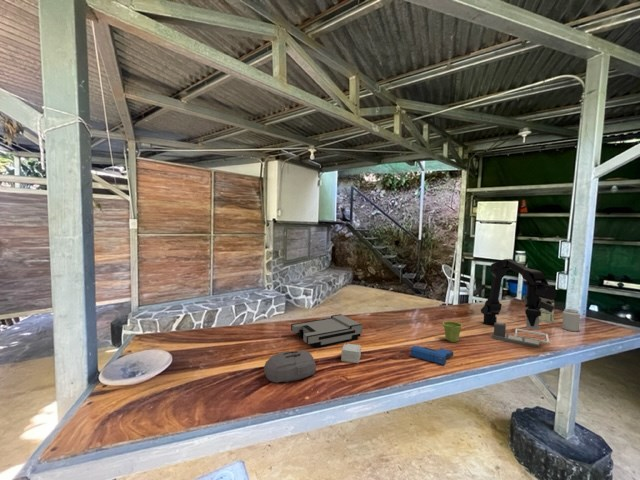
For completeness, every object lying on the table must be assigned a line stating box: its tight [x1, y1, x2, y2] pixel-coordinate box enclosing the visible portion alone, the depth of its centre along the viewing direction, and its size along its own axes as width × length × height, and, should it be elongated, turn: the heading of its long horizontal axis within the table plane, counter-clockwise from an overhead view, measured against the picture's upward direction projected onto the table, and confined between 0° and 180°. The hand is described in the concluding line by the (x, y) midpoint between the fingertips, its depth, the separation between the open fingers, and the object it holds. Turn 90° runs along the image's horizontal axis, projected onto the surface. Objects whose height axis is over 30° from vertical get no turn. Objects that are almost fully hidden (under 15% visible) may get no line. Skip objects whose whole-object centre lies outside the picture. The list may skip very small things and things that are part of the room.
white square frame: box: [514, 328, 550, 345], centre depth 154 cm, size 15×15×1 cm
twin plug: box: [493, 321, 507, 337], centre depth 152 cm, size 5×5×6 cm
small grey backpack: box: [263, 350, 317, 384], centre depth 109 cm, size 15×8×20 cm
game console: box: [290, 314, 363, 349], centre depth 147 cm, size 21×32×8 cm, turn 119°
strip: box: [491, 332, 540, 349], centre depth 148 cm, size 20×9×1 cm, turn 53°
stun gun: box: [410, 345, 454, 366], centre depth 128 cm, size 4×16×15 cm
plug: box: [525, 316, 540, 331], centre depth 143 cm, size 5×5×6 cm
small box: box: [340, 342, 362, 364], centre depth 124 cm, size 8×8×5 cm
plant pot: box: [442, 320, 463, 343], centre depth 147 cm, size 9×9×9 cm
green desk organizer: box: [537, 297, 556, 323], centre depth 184 cm, size 10×10×14 cm
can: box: [561, 308, 581, 333], centre depth 165 cm, size 8×8×12 cm
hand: (532, 324), depth 143 cm, fingers closed on plug, 5 cm apart
